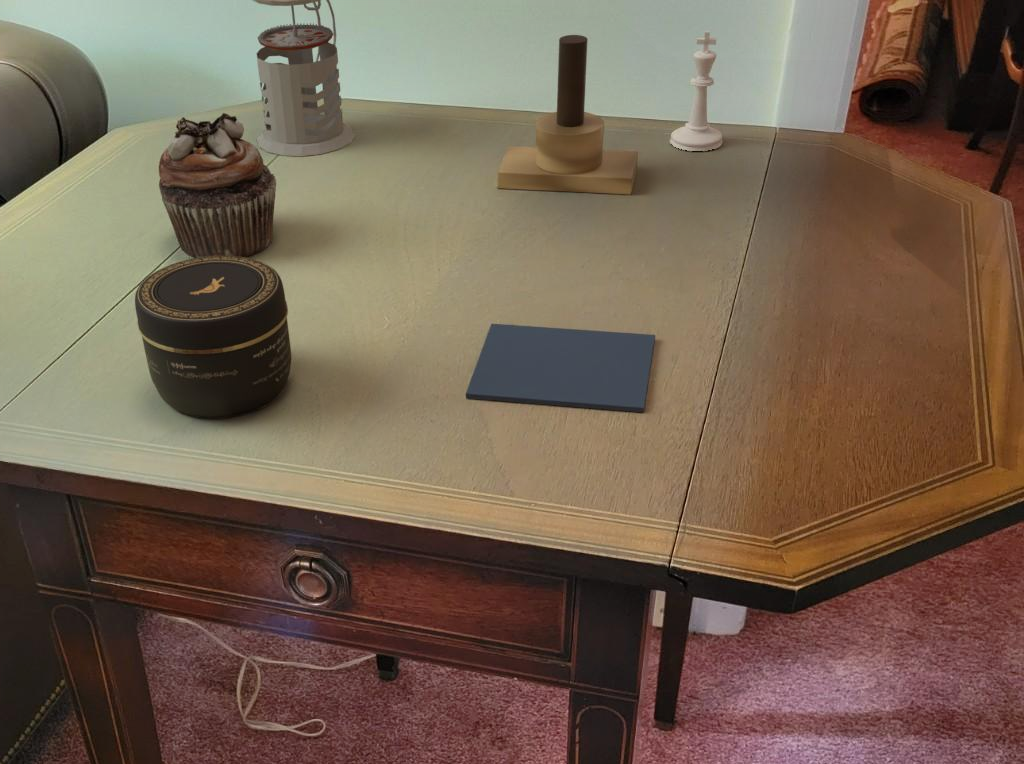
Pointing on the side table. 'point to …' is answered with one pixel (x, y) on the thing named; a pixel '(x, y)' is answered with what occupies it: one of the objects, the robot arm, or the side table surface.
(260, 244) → the cupcake
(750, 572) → the side table surface
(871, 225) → the side table surface
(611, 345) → the mat
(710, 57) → the chess piece
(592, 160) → the stand
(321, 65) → the french press
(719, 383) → the side table surface
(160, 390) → the jar
